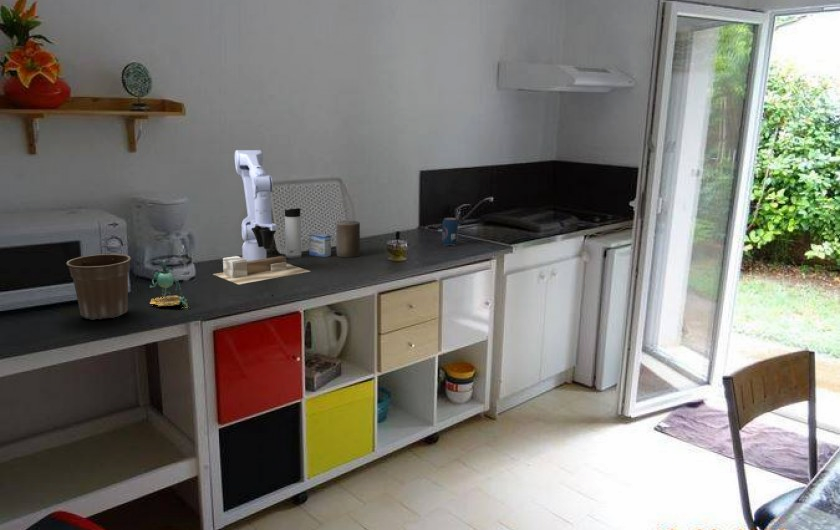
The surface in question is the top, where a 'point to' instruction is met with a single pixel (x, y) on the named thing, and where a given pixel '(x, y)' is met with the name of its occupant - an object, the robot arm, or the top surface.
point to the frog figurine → (165, 281)
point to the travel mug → (293, 233)
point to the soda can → (449, 231)
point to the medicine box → (319, 245)
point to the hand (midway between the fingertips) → (264, 247)
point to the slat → (263, 264)
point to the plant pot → (101, 284)
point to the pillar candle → (348, 239)
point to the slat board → (238, 273)
